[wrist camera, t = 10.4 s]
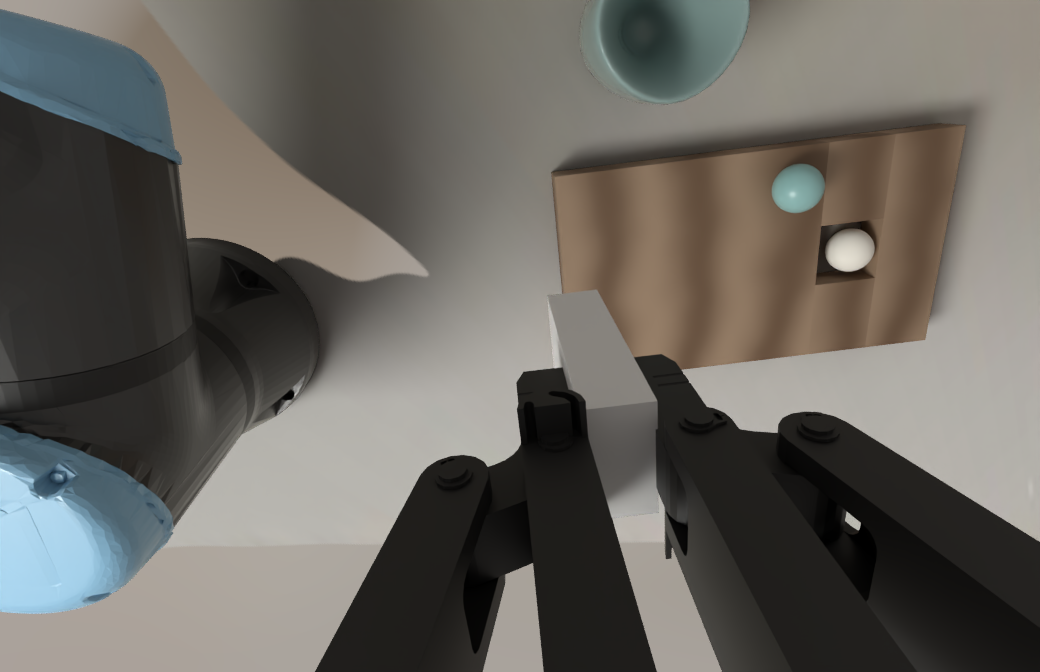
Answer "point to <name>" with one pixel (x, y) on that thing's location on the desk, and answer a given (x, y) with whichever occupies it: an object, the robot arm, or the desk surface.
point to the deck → (760, 245)
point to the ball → (849, 249)
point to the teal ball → (798, 188)
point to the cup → (661, 45)
